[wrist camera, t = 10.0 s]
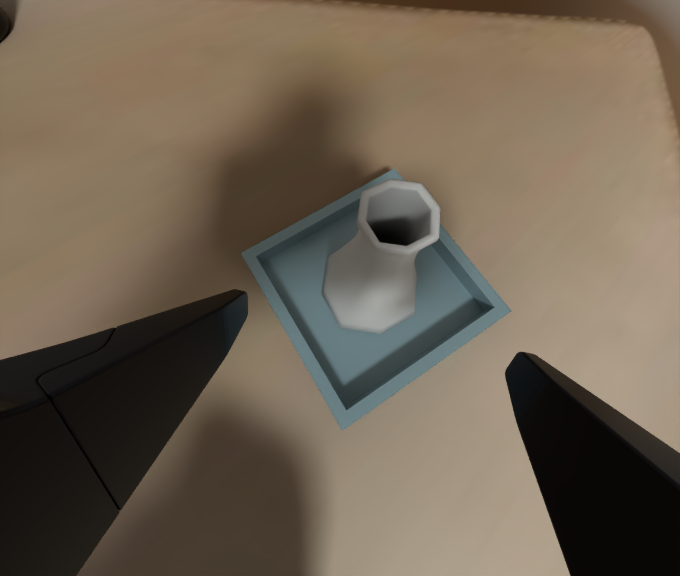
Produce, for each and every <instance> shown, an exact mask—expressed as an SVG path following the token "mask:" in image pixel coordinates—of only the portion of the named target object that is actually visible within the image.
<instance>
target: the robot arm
mask: <svg viewBox="0 0 680 576" xmlns="http://www.w3.org/2000/svg"><path fill="white" fill-rule="evenodd" d="M247 315H248V296H247V293H246V292H245V291H241V290H236V289H233V290H230V291H227V292H224V293H221V294H218V295H214V296H211V297H208V298H205V299H202V300H199V301H196V302H192V303H189V304H186V305H183V306H180V307H177V308H174V309H170V310H167V311H164V312H161V313H158V314H155V315H152V316H148V317H145V318H142V319H139V320H136V321H133V322H130V323H126V324H123V325H120V326H117V328H110V329H107V330H104V331H101V332H98V333H95V334H91V335H88V336H85V337H82V338H78V339H75V340H72V341H68V342H65V343H61V344H57V345H54V346H50V347H47V348H43V349H39V350H36V351H32V352H28V353H25V354H21V355H17V356H13V357H10V358H6V359H2V360H0V576H76V575H77V574H78V572H79V571H80V569H81V568H82V566H83V565H84V564H85V562H86V561H87V559H88V558H89V556H90V555H91V553H92V552H93V550H94V549H95V547H96V546H97V545H98V543H99V542H100V540H101V539H102V537H103V536H104V534H105V533H106V531H107V530H108V528H109V527H110V526H111V524H112V523H113V521H114V520H115V518H116V517H117V515H118V514H119V510H121V509H122V508H123V506H124V505H125V503H126V502H127V500H128V499H129V497H130V496H131V495H132V493H133V492H134V490H135V489H136V487H137V486H138V484H139V483H140V481H141V480H142V478H143V477H144V476H145V474H146V473H147V471H148V470H149V468H150V467H151V465H152V464H153V462H154V461H155V460H156V458H157V457H158V455H159V454H160V452H161V451H162V449H163V448H164V446H165V445H166V443H167V442H168V441H169V439H170V438H171V436H172V435H173V433H174V432H175V430H176V429H177V427H178V426H179V424H180V423H181V422H182V420H183V419H184V417H185V416H186V414H187V413H188V411H189V410H190V408H191V407H192V406H193V404H194V403H195V401H196V400H197V398H198V397H199V395H200V394H201V392H202V391H203V389H204V388H205V387H206V385H207V384H208V382H209V381H210V379H211V378H212V376H213V375H214V373H215V372H216V371H217V369H218V368H219V366H220V365H221V363H222V362H223V360H224V359H225V357H226V356H227V354H228V352H229V350H230V349H231V347H232V345H233V343H234V341H235V339H236V337H237V335H238V333H239V332H240V330H241V328H242V326H243V324H244V322H245V320H246V318H247ZM505 377H506V382H507V386H508V390H509V394H510V398H511V402H512V406H513V411H514V415H515V418H516V422H517V425H518V428H519V431H520V434H521V437H522V440H523V443H524V445H525V448H526V451H527V454H528V457H529V460H530V462H531V465H532V468H533V471H534V474H535V477H536V479H537V482H538V485H539V488H540V491H541V494H542V496H543V499H544V502H545V505H546V508H547V511H548V513H549V516H550V519H551V522H552V525H553V528H554V530H555V533H556V536H557V539H558V542H559V545H560V547H561V550H562V553H563V556H564V559H565V562H566V564H567V567H568V570H569V573H570V576H680V453H679V452H677V451H676V450H674V449H673V448H671V447H670V446H668V445H667V444H665V443H664V442H663V441H661V440H660V439H658V438H657V437H655V436H654V435H652V434H651V433H649V432H648V431H646V430H645V429H643V428H642V427H641V426H639V425H638V424H636V423H635V422H633V421H632V420H630V419H629V418H627V417H626V416H624V415H623V414H621V413H620V412H619V411H617V410H616V409H614V408H613V407H611V406H610V405H608V404H607V403H605V402H604V401H602V400H601V399H599V398H598V397H597V396H595V395H594V394H592V393H591V392H589V391H588V390H586V389H585V388H583V387H582V386H580V385H579V384H577V383H576V382H575V381H573V380H572V379H570V378H569V377H567V376H566V375H564V374H563V373H561V372H560V371H558V370H557V369H555V368H554V367H553V366H551V365H550V364H548V363H547V362H545V361H544V360H542V359H541V358H539V357H538V356H536V355H534V354H531V353H526V352H519V353H517V354H516V355H515V357H514V358H513V360H512V361H511V363H510V364H509V366H508V367H507V369H506V372H505Z"/></svg>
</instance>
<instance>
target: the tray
mask: <svg viewBox="0 0 680 576" xmlns="http://www.w3.org/2000/svg"><path fill="white" fill-rule="evenodd" d="M388 179H397V180H404V179H403V178H402V177H401V176H400V174H399V173H398V172H397V171H396V169H395V168H394V169H392V170H391V171H389V172H387V173H385V174H383V175H382V176H380V177H378V178H376V179H374V180H372V181H371V182H369V183H367V184H365V185H363V186H362V187H360V188H358V189H356V190H354V191H352V192H351V193H349V194H347V195H345V196H343V197H342V198H340V199H338V200H336V201H334V202H332V203H331V204H329V205H327V206H325V207H323V208H322V209H320V210H318V211H316V212H314V213H312V214H311V215H309V216H307V217H305V218H303V219H302V220H300V221H298V222H296V223H294V224H292V225H291V226H289V227H287V228H285V229H283V230H282V231H280V232H278V233H276V234H274V235H272V236H271V237H269V238H267V239H265V240H263V241H262V242H260V243H258V244H256V245H254V246H252V247H251V248H249V249H247V250H245V251H243V252H242V253H241V254H242V256H243V258H244V260H245V261H246V263H247V265H248V267H249V268H250V270H251V272H252V274H253V275H254V277H255V279H256V281H257V282H258V284H259V286H260V288H261V289H262V291H263V293H264V295H265V296H266V298H267V300H268V302H269V303H270V305H271V307H272V309H273V310H274V312H275V314H276V316H277V317H278V319H279V321H280V323H281V324H282V326H283V328H284V330H285V331H286V333H287V335H288V337H289V338H290V340H291V342H292V344H293V345H294V347H295V349H296V351H297V352H298V354H299V356H300V358H301V359H302V361H303V363H304V365H305V366H306V368H307V370H308V372H309V373H310V375H311V377H312V378H313V380H314V382H315V384H316V385H317V387H318V389H319V391H320V392H321V394H322V396H323V398H324V399H325V401H326V403H327V405H328V406H329V408H330V410H331V412H332V413H333V415H334V417H335V419H336V420H337V422H338V424H339V426H340V427H341V429H342V431H343V430H344V429H345V428H347V427H348V426H350V425H351V424H352V423H354V422H355V421H357V420H358V419H359V418H361V417H362V416H364V415H365V414H367V413H368V412H369V411H371V410H372V409H374V408H375V407H376V406H378V405H379V404H381V403H382V402H384V401H385V400H386V399H388V398H389V397H391V396H392V395H393V394H395V393H396V392H398V391H399V390H400V389H402V388H403V387H405V386H406V385H408V384H409V383H410V382H412V381H413V380H415V379H416V378H417V377H419V376H420V375H422V374H423V373H425V372H426V371H427V370H429V369H430V368H432V367H433V366H434V365H436V364H437V363H439V362H440V361H441V360H443V359H444V358H446V357H447V356H449V355H450V354H451V353H453V352H454V351H456V350H457V349H458V348H460V347H461V346H463V345H464V344H466V343H467V342H468V341H470V340H471V339H473V338H474V337H475V336H477V335H478V334H480V333H481V332H483V331H484V330H485V329H487V328H488V327H490V326H491V325H492V324H494V323H495V322H497V321H498V320H499V319H501V318H502V317H504V316H505V315H507V314H508V313H509V312H511V310H510V308H509V307H508V306H507V305H506V304H505V302H504V301H503V300H502V299H501V297H500V296H499V295H498V294H497V293H496V291H495V290H494V289H493V288H492V286H491V285H490V284H489V283H488V282H487V280H486V279H485V278H484V277H483V276H482V274H481V273H480V272H479V271H478V269H477V268H476V267H475V266H474V265H473V263H472V262H471V261H470V260H469V258H468V257H467V256H466V255H465V254H464V252H463V251H462V250H461V249H460V247H459V246H458V245H457V244H456V243H455V241H454V240H453V239H452V238H451V236H450V235H449V234H448V233H447V232H446V230H445V229H444V228H443V227H442V226H441V224H440V227H439V239H438V240H437V241H436V242H434V243H432V244H430V245H428V246H426V247H425V248H423V249H421V250H419V252H418V253H417V255H416V257H415V261H414V264H415V269H416V273H417V284H416V298H415V313H414V315H413V316H411V317H410V318H408V319H406V320H404V321H402V322H401V323H399V324H397V325H395V326H394V327H392V328H390V329H388V330H386V331H385V332H383V333H381V334H377V333H370V332H363V331H356V330H350V329H343V328H340V327H339V325H338V324H337V322H336V320H335V318H334V316H333V314H332V312H331V311H330V309H329V307H328V305H327V303H326V301H325V299H324V298H323V296H322V294H321V293H322V287H323V281H324V275H325V269H326V264H327V258H328V257H329V256H330V255H332V254H333V253H335V252H336V251H338V250H339V249H341V248H342V247H343V246H344V245H346V244H347V243H348V242H349V241H351V240H352V239H353V238H354V237H355V236H356V234H357V233H358V231H359V228H358V226H357V219H358V212H359V205H360V198H361V193H362V192H363V191H365V190H367V189H369V188H371V187H373V186H375V185H377V184H379V183H382V182H384V181H386V180H388Z"/></svg>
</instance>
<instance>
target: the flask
mask: <svg viewBox="0 0 680 576" xmlns="http://www.w3.org/2000/svg"><path fill="white" fill-rule="evenodd" d="M357 226H358V228H359V231H358V233H357V234H356V236H355V237H354V238H353V239H352V240H351V241H349V242H348V243H347V244H346V245H344V246H343V247H342V248H341V249H339V250H338V251H336V252H335V253H333V254H332V255H330V256H329V257H328V258H327V264H326V269H325V275H324V281H323V287H322V293H321V294H322V296H323V298H324V299H325V301H326V303H327V305H328V307H329V309H330V311H331V312H332V314H333V316H334V318H335V320H336V322H337V324H338V325H339V327H340V328H343V329H350V330H356V331H363V332H370V333H377V334H381V333H383V332H385V331H386V330H388V329H390V328H392V327H394V326H395V325H397V324H399V323H401V322H402V321H404V320H406V319H408V318H410V317H411V316H413V315H414V313H415V298H416V284H417V273H416V269H415V264H414V261H415V257H416V255H417V253H418V252H419V250H421V249H423V248H425V247H426V246H428V245H430V244H432V243H434V242H436V241H437V240H438V239H439V227H440V207H439V205H438V204H437V202H436V201H435V200H434V198H433V197H432V196H431V194H430V193H429V192H428V190H427V189H426V187H425V186H424V185H423V183H420V182H413V181H405V180H397V179H388V180H386V181H384V182H382V183H379V184H377V185H375V186H373V187H371V188H369V189H367V190H365V191H363V192H362V193H361V198H360V205H359V212H358V219H357Z"/></svg>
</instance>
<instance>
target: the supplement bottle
mask: <svg viewBox="0 0 680 576" xmlns="http://www.w3.org/2000/svg"><path fill="white" fill-rule="evenodd" d="M9 28H10V21H9V18H8V16H7V14H6V13H5V11H4V10H3V9H2V8H1V7H0V41H1V40H2V39H3V38H4V37H5V35H6V34H7V33H8V31H9Z"/></svg>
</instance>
